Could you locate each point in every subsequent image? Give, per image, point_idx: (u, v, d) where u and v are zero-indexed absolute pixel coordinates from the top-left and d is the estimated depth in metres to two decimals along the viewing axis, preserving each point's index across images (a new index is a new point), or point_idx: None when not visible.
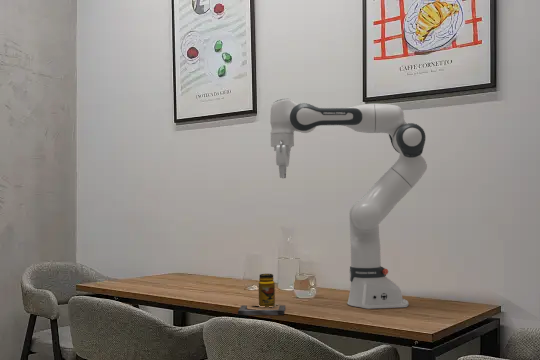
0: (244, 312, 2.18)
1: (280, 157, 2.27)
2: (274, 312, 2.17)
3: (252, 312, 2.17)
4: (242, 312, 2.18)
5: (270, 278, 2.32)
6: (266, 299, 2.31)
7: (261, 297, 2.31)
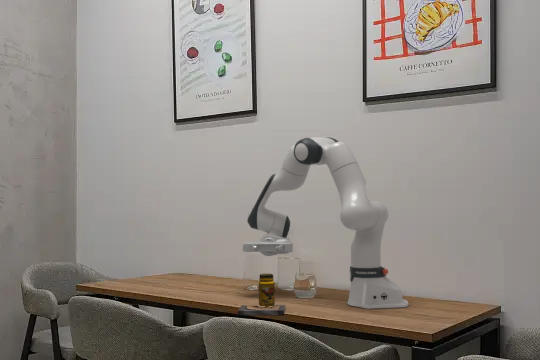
0: (244, 312, 2.18)
1: None
2: (274, 312, 2.17)
3: (252, 312, 2.17)
4: (242, 312, 2.18)
5: (270, 278, 2.32)
6: (266, 299, 2.31)
7: (261, 297, 2.31)
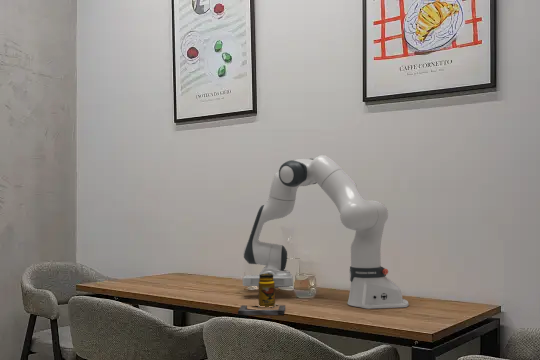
0: (244, 312, 2.18)
1: None
2: (274, 312, 2.17)
3: (252, 312, 2.17)
4: (242, 312, 2.18)
5: (270, 278, 2.32)
6: (266, 299, 2.31)
7: (261, 297, 2.31)
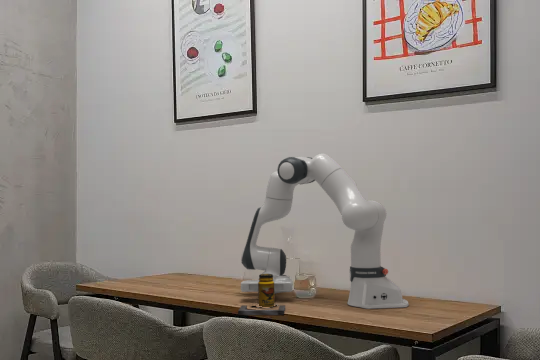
0: (244, 312, 2.18)
1: None
2: (274, 312, 2.17)
3: (252, 312, 2.17)
4: (242, 312, 2.18)
5: (270, 278, 2.31)
6: (266, 299, 2.30)
7: (261, 297, 2.30)
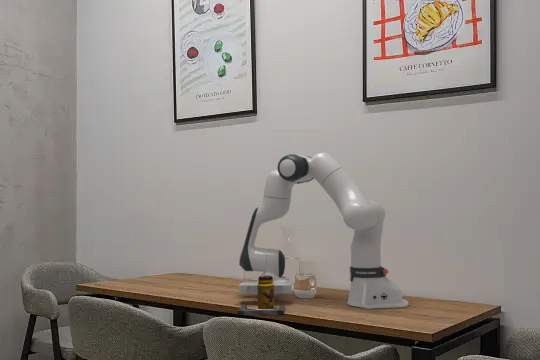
0: (244, 312, 2.18)
1: None
2: (274, 312, 2.17)
3: (252, 312, 2.17)
4: (242, 312, 2.18)
5: (271, 280, 2.26)
6: (267, 301, 2.25)
7: (262, 300, 2.25)
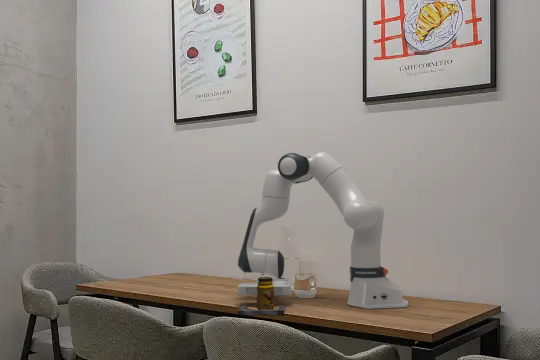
0: (244, 312, 2.18)
1: None
2: (274, 312, 2.17)
3: (252, 312, 2.17)
4: (242, 312, 2.18)
5: (271, 281, 2.23)
6: (268, 303, 2.22)
7: (262, 302, 2.22)
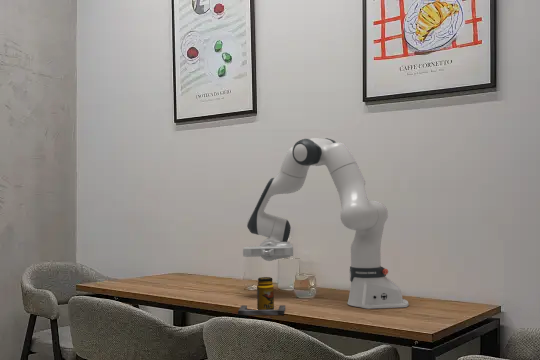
0: (244, 312, 2.18)
1: None
2: (274, 312, 2.17)
3: (252, 312, 2.17)
4: (242, 312, 2.18)
5: (271, 281, 2.23)
6: (268, 303, 2.22)
7: (262, 302, 2.21)
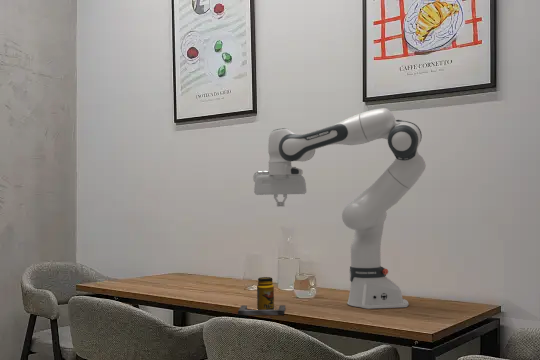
0: (244, 312, 2.18)
1: None
2: (274, 312, 2.17)
3: (252, 312, 2.17)
4: (242, 312, 2.18)
5: (271, 281, 2.23)
6: (268, 303, 2.22)
7: (262, 302, 2.21)
